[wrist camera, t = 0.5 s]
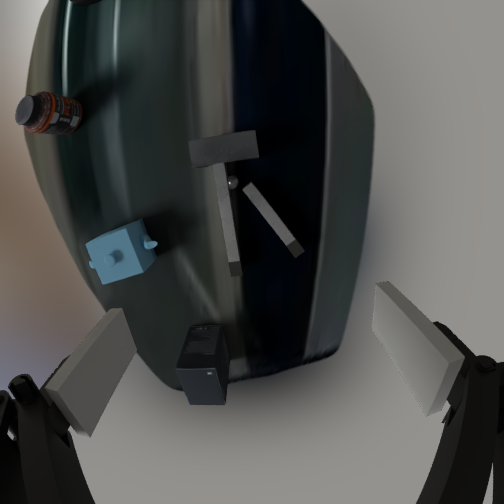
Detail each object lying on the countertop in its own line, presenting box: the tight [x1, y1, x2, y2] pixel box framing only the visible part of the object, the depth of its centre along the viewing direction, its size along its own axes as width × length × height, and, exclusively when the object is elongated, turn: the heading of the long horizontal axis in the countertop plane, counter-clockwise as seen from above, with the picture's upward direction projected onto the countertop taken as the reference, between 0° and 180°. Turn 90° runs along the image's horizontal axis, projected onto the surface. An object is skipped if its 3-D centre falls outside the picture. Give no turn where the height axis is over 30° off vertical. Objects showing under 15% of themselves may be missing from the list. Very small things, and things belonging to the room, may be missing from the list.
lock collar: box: [188, 130, 259, 168], centre depth 31 cm, size 3×7×7 cm, turn 98°
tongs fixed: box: [213, 163, 243, 277], centre depth 35 cm, size 15×3×3 cm, turn 8°
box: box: [176, 325, 230, 405], centre depth 38 cm, size 8×6×11 cm
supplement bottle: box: [15, 91, 82, 135], centre depth 26 cm, size 6×6×11 cm
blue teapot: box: [86, 219, 157, 285], centre depth 34 cm, size 12×6×8 cm, turn 107°
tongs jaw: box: [242, 181, 304, 258], centre depth 35 cm, size 11×2×3 cm, turn 38°
